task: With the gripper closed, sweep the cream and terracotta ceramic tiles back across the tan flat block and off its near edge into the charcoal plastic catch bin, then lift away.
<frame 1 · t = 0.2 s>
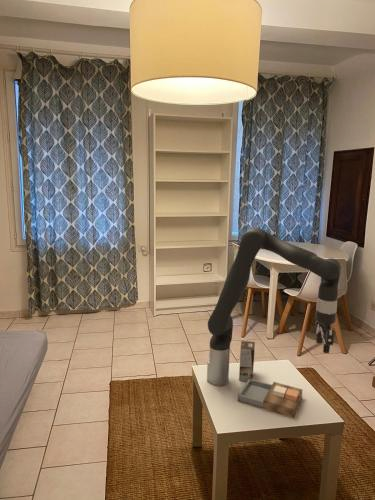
hand: (322, 347, 154), 27 cm above the table, fingers open, 8 cm apart
far tile: (291, 397, 160), point 4 cm above the table, touching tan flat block
near tile: (279, 393, 162), point 4 cm above the table, touching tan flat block
catch bin: (255, 395, 167), on the table
coffee box: (246, 376, 183), on the table
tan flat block: (282, 403, 162), on the table
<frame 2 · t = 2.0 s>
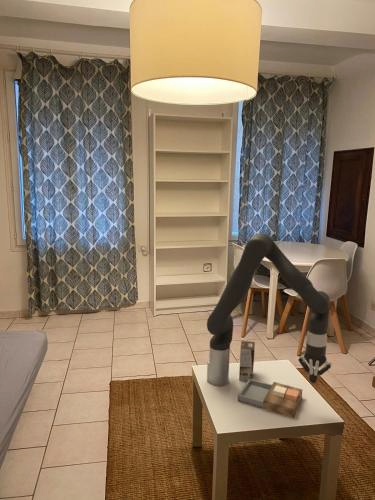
hand: (313, 382, 155), 13 cm above the table, fingers closed
nothing on the table moved.
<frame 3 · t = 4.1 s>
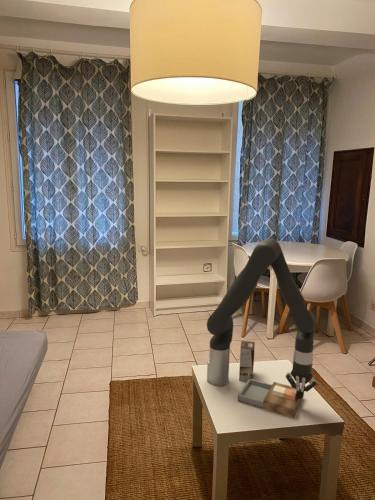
hand: (299, 398, 159), 4 cm above the table, fingers closed
far tile: (290, 396, 160), point 4 cm above the table, touching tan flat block, gripper
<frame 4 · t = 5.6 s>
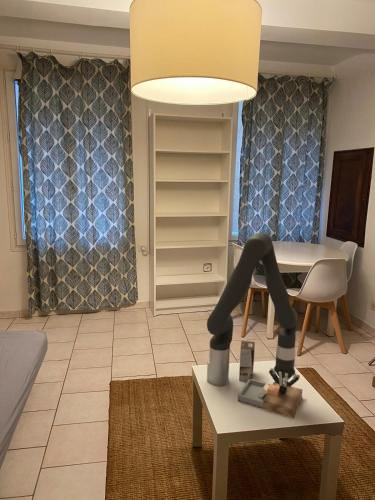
hand: (282, 393, 162), 5 cm above the table, fingers closed
far tile: (273, 391, 164), point 4 cm above the table, touching gripper
near tile: (265, 392, 165), point 3 cm above the table, tilted 61°, touching catch bin
everything else where it was.
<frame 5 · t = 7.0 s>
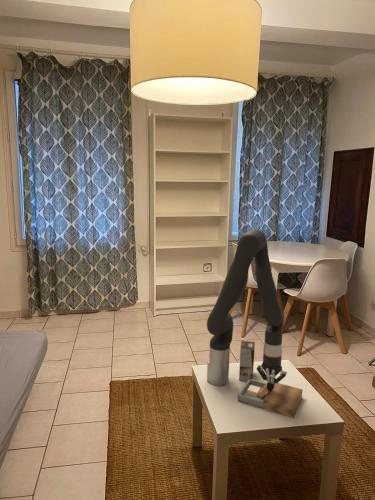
hand: (270, 389, 164), 5 cm above the table, fingers closed
far tile: (265, 392, 165), point 3 cm above the table, tilted 54°, touching catch bin, gripper
near tile: (253, 388, 168), point 3 cm above the table, tilted 180°, touching catch bin
everything else where it was.
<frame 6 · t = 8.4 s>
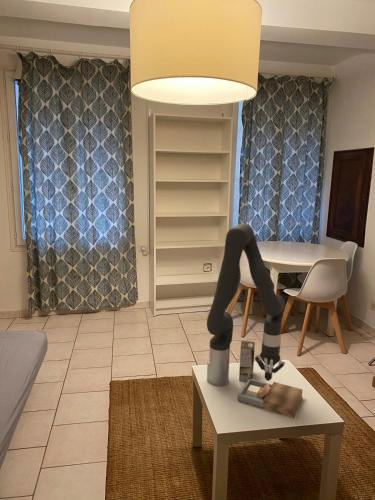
hand: (268, 379, 164), 9 cm above the table, fingers closed
far tile: (265, 392, 165), point 3 cm above the table, tilted 51°, touching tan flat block, catch bin
everything else where it was.
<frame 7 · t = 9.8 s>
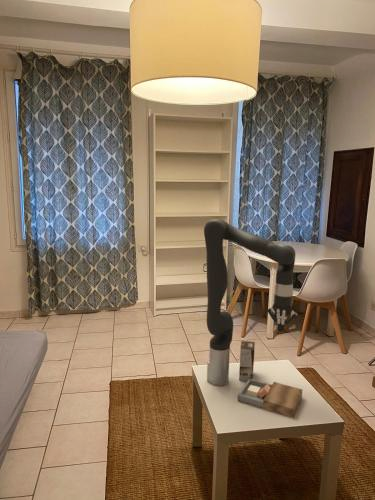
hand: (280, 331, 166), 28 cm above the table, fingers closed
nothing on the table moved.
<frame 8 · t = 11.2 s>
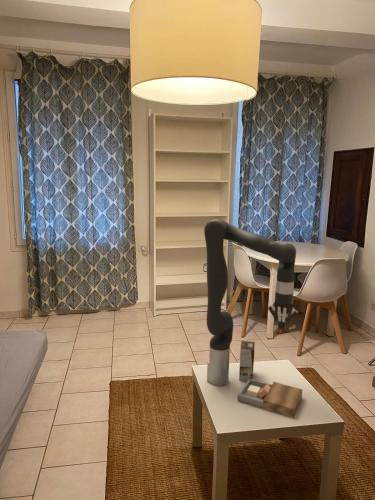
hand: (281, 329, 167), 29 cm above the table, fingers closed
nothing on the table moved.
at the end: near tile inside the target area (1.3 cm from its centre), point 2.8 cm above the table; far tile inside the target area (4.4 cm from its centre), point 2.6 cm above the table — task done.
